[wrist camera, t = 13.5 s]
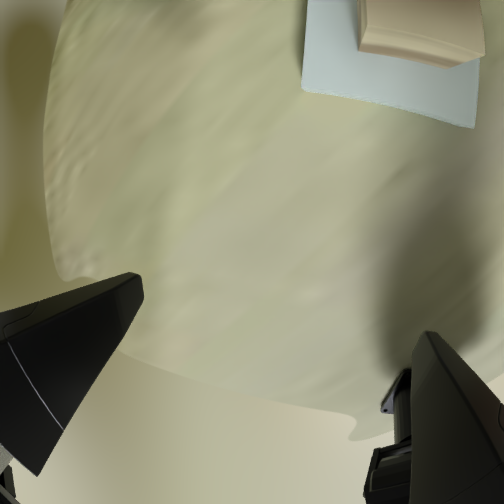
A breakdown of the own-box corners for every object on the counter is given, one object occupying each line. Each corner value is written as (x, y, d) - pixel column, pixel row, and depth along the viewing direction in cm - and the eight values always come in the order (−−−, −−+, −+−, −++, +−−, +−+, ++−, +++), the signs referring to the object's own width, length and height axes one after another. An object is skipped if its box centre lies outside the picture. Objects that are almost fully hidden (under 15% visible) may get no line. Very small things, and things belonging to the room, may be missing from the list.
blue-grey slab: (455, 126, 15) (474, 128, 12) (305, 91, 17) (301, 87, 14) (459, -3, 10) (474, -17, 7) (315, -37, 12) (310, -58, 9)
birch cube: (446, 69, 11) (485, 55, 7) (358, 51, 12) (367, 24, 8) (440, -6, 9) (470, -39, 5) (355, -24, 10) (359, -68, 6)
